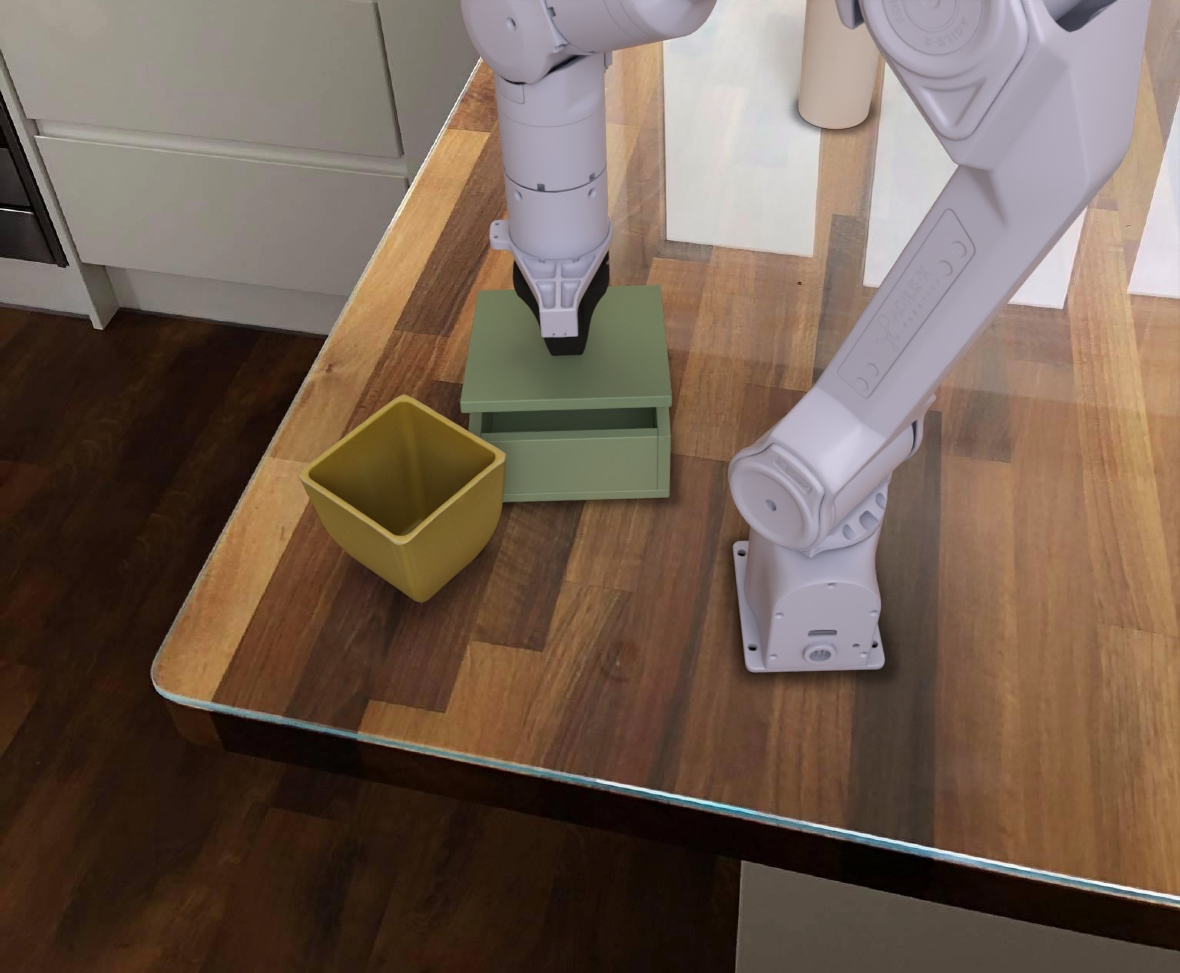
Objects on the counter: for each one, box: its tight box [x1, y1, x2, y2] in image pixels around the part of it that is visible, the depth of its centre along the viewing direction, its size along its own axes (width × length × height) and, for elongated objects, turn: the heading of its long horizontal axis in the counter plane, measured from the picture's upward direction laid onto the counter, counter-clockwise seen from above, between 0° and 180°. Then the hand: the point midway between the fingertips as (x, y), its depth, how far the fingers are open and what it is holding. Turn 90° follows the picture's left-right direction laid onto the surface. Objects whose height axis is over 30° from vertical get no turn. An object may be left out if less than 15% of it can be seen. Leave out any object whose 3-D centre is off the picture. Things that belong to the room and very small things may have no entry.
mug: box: [798, 0, 881, 130], centre depth 106 cm, size 10×7×12 cm, turn 153°
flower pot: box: [297, 393, 506, 604], centre depth 74 cm, size 9×9×9 cm
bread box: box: [467, 407, 672, 503], centre depth 82 cm, size 14×13×6 cm
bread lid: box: [459, 284, 673, 414], centre depth 78 cm, size 14×13×1 cm
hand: (566, 348), depth 77 cm, fingers closed
